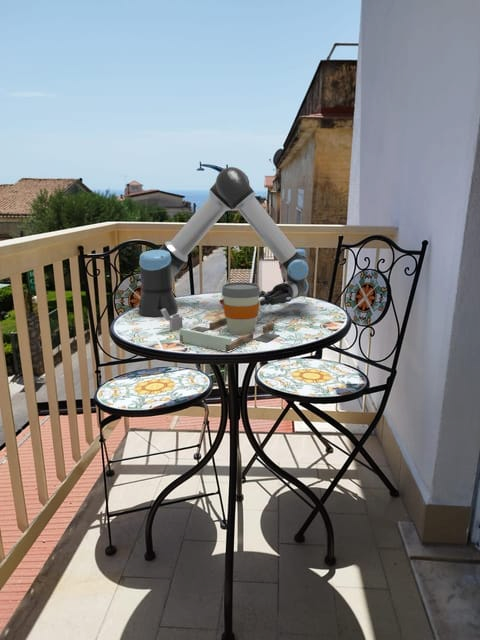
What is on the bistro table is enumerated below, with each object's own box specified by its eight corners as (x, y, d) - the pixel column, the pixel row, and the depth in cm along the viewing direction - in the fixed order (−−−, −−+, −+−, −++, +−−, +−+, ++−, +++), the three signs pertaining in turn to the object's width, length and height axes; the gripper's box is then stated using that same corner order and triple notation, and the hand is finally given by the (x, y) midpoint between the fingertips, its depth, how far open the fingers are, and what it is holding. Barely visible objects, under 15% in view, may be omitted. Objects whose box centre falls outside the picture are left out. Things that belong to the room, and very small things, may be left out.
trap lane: (217, 319, 155) (217, 313, 155) (287, 331, 140) (287, 325, 140) (167, 338, 134) (167, 332, 133) (244, 355, 119) (244, 348, 118)
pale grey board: (182, 340, 132) (181, 328, 131) (231, 351, 122) (231, 338, 121) (180, 341, 131) (179, 329, 130) (229, 352, 121) (229, 339, 120)
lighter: (180, 328, 145) (179, 305, 143) (183, 329, 144) (181, 306, 142) (161, 331, 141) (160, 308, 139) (163, 333, 140) (162, 309, 138)
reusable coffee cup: (227, 336, 135) (226, 290, 131) (218, 326, 147) (218, 283, 143) (264, 333, 139) (265, 288, 135) (253, 323, 150) (253, 281, 146)
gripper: (299, 303, 162) (270, 317, 143) (269, 299, 169) (237, 312, 150) (300, 284, 160) (270, 296, 141) (269, 281, 167) (237, 291, 148)
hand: (253, 304), depth 146 cm, fingers closed
